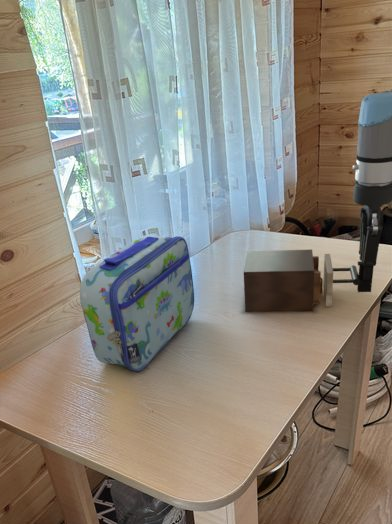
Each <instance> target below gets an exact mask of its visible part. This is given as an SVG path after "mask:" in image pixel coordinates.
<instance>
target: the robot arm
mask: <svg viewBox="0 0 392 524" xmlns="http://www.w3.org/2000/svg"><path fill="white" fill-rule="evenodd" d="M357 125H358V129H357V130H358V132H357V146H356V164H353V165H352V171H355V172H354V180H355V181H356V182H355V183H354V185H353V196H352V200H353V202H354V203H355V204H357V205H359V206H363V207H361V208H360V210H359V217H360V224H359V225H360V226H359V248H358V255H359V261H357V266H358V275H359V279H360V284H358V285H357V287H356V288H357V289H356V290H357V293H372V288H373V287H372V286H373V275H374V267H376V266H377V260H378V253H379V247H380V240H381V235H382V232H383V225H382V222H383V220H384V212H383V211H382V208H381V207H382V206H385V205H389V204H391V203H392V88H391V89H390V90H385V91H381V92H375V93H369V94H368V95H365V96H364V97H363V99H362V100H361V103H360V109H359V115H358V121H357Z"/></svg>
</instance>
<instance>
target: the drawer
mask: <svg viewBox="0 0 392 524" xmlns="http://www.w3.org/2000/svg"><path fill="white" fill-rule="evenodd" d="M323 259H324V260H323V277H321V276H322V272H321V271H320V270H319V266H320V265H319V263H320V257H319V255H316V256H315V255H313V263H314V269H317V270H319V271H314V293H313V305H316V304H317V305H319V304H321V303H320V300H321V294H320V279H321V278H322V279H323V287H322V289H323V296H324V304H325V307H332V306H333V305H332V303H333V287H334V286H333V285H334V284H353V285H354V286H358V284H360V279H359V270H358V268H357V266H356V265H354V264H353V265H350V266H349V267H333V263H332V257H331V253H324V258H323ZM334 272H349V273H350V276H351V278H348V279H347V278H346V279H343V278H341V279H340V278H339V279H334Z"/></svg>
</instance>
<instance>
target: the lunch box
mask: <svg viewBox="0 0 392 524" xmlns="http://www.w3.org/2000/svg"><path fill="white" fill-rule="evenodd" d="M193 278H194V277H193V270H192V263H191V258H190V252H189V246H188V243H187V241H186V239H185V238H184V237H183V236H179V235H178V236H176V235H175V236H174V237H171V236H163V235H157V234H145V235H142V236H141V237H138V238H136V239H135V240H133V241H131V242H129V243H128V244H126V245H125V246H123V247H122V248H120V249H119V250H117V251H116V252H114V253H113V254H111V255H110V256H108V257H106V258H103V260H102V261H101V262H99V263H98V264H97V265H94V266H93V267H91V268H90V269H88V271H87V272H86V273H85V274H84V276H83V277H82V280H81V282H80V285H79V298H80V304H81V308H82V313H83V317H84V320H85V325H86V327H87V331H88V335H89V340H90V343H91V348H92V350H93V353H94V355H95V358H96V359H97V360H98V361H99V362H100V363H104V364H113V365H118V366H122V367H125V368H126V369H128V370H129V371H135V372H140V371H143V370H144V369H145V368H146V367H148V365H149V364H150V362H152V360H153V359H154V358H155V357H156V356H157V355H158V354H159V353H160V352H161V350H162V349H163V348H164V347H166V345H167V344H168V343H169V342H170V341H171V339H172V338H173V337H174V336H175V335H176V334H177V333H178V332H179V331H180V330H181V329H182V328H184V327H185V326H186V324H188V323H189V321H190V320H191V318H192V314H193V312H194V307H195V289H194V280H193Z"/></svg>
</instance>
